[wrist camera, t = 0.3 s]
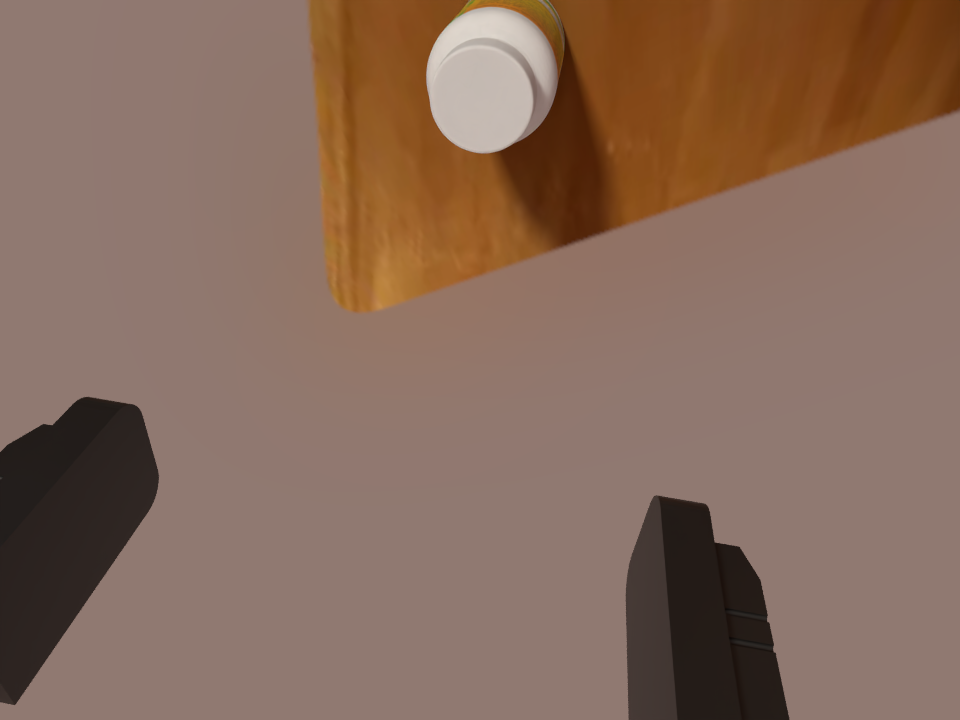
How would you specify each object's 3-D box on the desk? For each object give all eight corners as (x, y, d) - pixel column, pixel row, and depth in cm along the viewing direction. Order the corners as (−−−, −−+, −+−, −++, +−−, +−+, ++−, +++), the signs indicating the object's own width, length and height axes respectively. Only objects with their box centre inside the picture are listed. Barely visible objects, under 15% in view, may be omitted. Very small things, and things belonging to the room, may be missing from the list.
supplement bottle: (470, -35, 32) (426, 2, 24) (581, 2, 32) (573, 50, 24) (444, 82, 35) (398, 147, 27) (545, 114, 35) (527, 189, 28)
